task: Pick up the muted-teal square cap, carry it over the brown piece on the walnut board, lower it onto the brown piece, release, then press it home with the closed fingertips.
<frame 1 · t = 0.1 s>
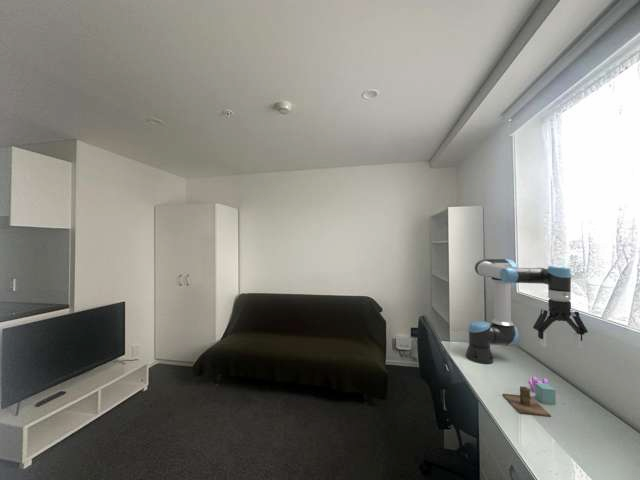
hand: (559, 347, 116), 28 cm above the table, fingers open, 13 cm apart
cap: (545, 400, 122), on the table
brown piece: (525, 405, 118), on the table
bracket: (537, 387, 133), on the table
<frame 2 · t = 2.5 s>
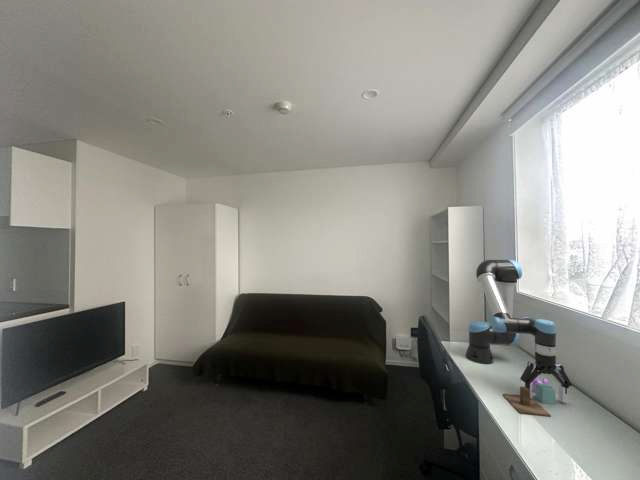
hand: (545, 398, 122), 1 cm above the table, fingers open, 13 cm apart
nothing on the table moved.
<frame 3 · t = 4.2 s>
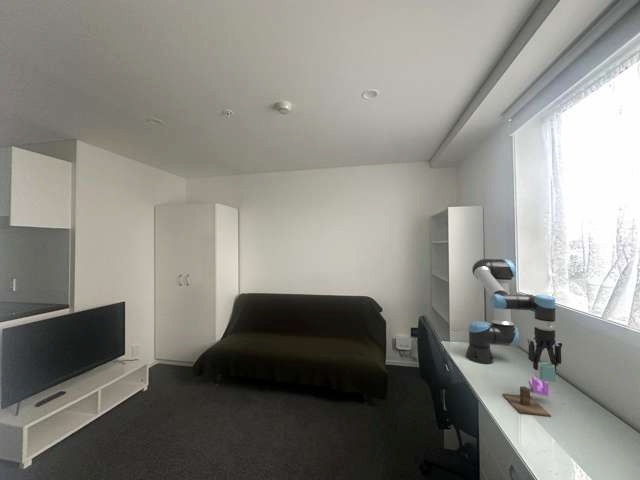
hand: (544, 376, 123), 11 cm above the table, fingers closed on cap, 5 cm apart
cap: (544, 378, 122), point 10 cm above the table, touching gripper
everything else where it was.
when the fingers open (3 cm above the table, at t = 8.2 s): cap stays where it is, resting on brown piece.
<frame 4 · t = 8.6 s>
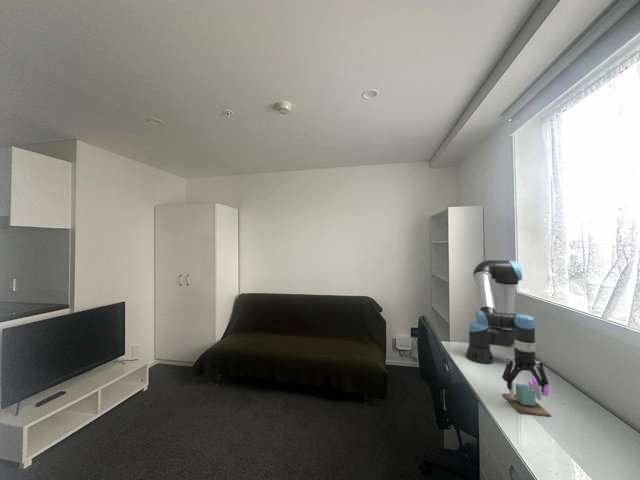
hand: (524, 397, 118), 3 cm above the table, fingers open, 10 cm apart
cap: (525, 401, 118), point 2 cm above the table, touching brown piece
everything else where it was.
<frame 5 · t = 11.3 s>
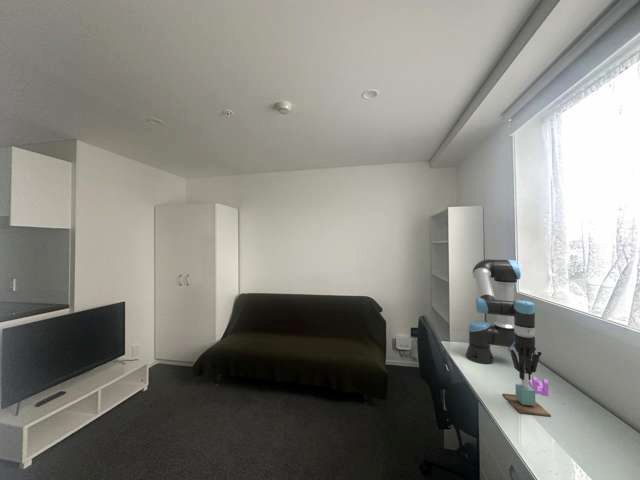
hand: (525, 386, 118), 9 cm above the table, fingers closed
cap: (525, 401, 118), point 2 cm above the table, touching gripper, brown piece
everything else where it was.
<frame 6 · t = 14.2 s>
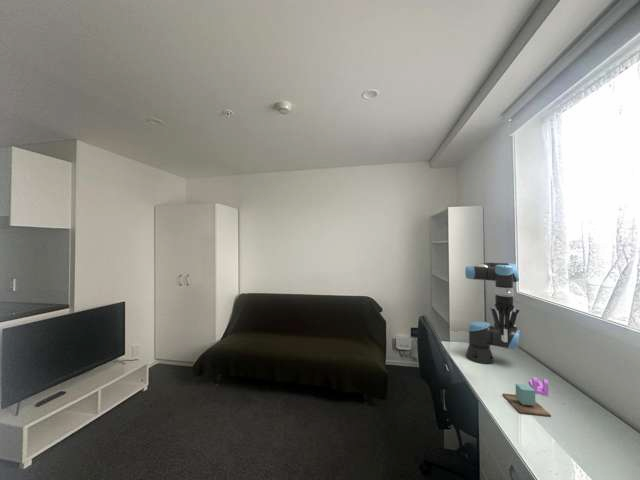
hand: (504, 341, 132), 24 cm above the table, fingers closed
cap: (525, 401, 118), point 2 cm above the table, touching brown piece
everything else where it was.
at the end: cap 0.2 cm from the brown piece (horizontally); cap point 1.8 cm above the table; cap tilted 0° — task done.
